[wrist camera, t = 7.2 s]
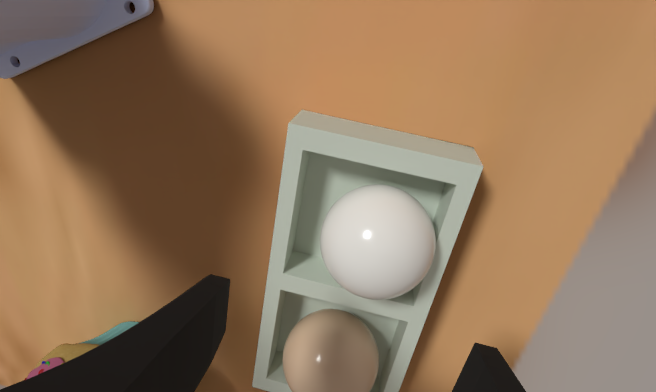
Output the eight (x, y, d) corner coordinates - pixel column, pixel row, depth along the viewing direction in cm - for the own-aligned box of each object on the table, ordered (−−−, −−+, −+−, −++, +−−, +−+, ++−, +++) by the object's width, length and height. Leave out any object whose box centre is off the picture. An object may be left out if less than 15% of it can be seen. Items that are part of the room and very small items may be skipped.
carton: (387, 386, 25) (386, 423, 23) (265, 354, 26) (252, 386, 23) (473, 147, 18) (483, 166, 16) (302, 109, 19) (288, 122, 16)
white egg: (334, 267, 21) (351, 341, 17) (298, 189, 19) (308, 252, 14) (423, 233, 21) (465, 299, 16) (399, 150, 18) (441, 201, 14)
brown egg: (312, 362, 25) (293, 439, 20) (282, 298, 23) (253, 367, 18) (391, 351, 23) (389, 432, 19) (365, 281, 22) (356, 352, 17)
